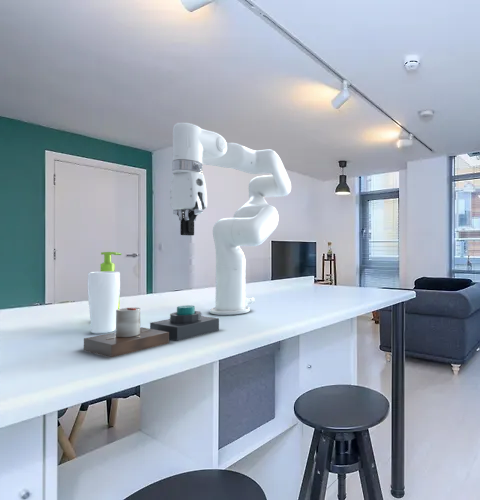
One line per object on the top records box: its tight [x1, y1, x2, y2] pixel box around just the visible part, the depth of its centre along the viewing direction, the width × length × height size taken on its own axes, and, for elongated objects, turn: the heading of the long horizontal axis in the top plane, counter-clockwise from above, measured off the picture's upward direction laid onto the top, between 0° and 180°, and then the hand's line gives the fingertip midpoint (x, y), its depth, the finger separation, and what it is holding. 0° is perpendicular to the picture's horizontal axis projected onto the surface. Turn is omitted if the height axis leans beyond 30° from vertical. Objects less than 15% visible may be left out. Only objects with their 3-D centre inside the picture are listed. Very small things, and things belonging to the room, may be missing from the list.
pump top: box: [176, 304, 196, 315], centre depth 87 cm, size 4×4×2 cm
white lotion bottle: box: [86, 271, 121, 335], centre depth 88 cm, size 7×7×15 cm
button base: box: [149, 310, 220, 342], centre depth 87 cm, size 12×10×5 cm
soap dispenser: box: [100, 251, 123, 309], centre depth 101 cm, size 6×7×20 cm
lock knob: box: [115, 307, 141, 337], centre depth 74 cm, size 4×4×6 cm
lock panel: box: [83, 326, 170, 358], centre depth 74 cm, size 12×10×3 cm
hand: (187, 235), depth 97 cm, fingers closed
